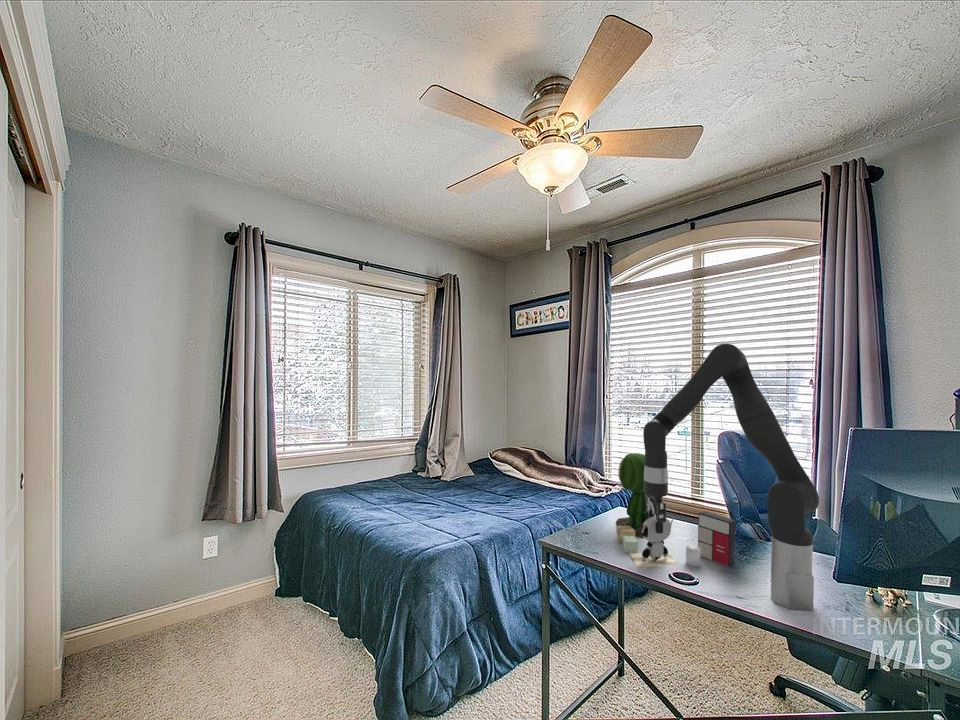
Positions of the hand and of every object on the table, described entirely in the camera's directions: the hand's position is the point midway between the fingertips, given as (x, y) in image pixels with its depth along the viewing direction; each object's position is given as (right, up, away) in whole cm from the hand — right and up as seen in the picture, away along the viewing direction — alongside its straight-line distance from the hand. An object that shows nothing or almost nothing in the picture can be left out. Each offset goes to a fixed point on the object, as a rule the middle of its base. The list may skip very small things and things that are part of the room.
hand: (655, 528), depth 148 cm
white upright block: (+12, -12, -1) cm, 17 cm away
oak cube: (-4, -12, +17) cm, 21 cm away
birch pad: (0, -12, 0) cm, 12 cm away
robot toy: (0, -11, +2) cm, 12 cm away
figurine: (+5, -12, +30) cm, 33 cm away
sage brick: (-5, -12, +11) cm, 16 cm away
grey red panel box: (+21, -12, +3) cm, 25 cm away
